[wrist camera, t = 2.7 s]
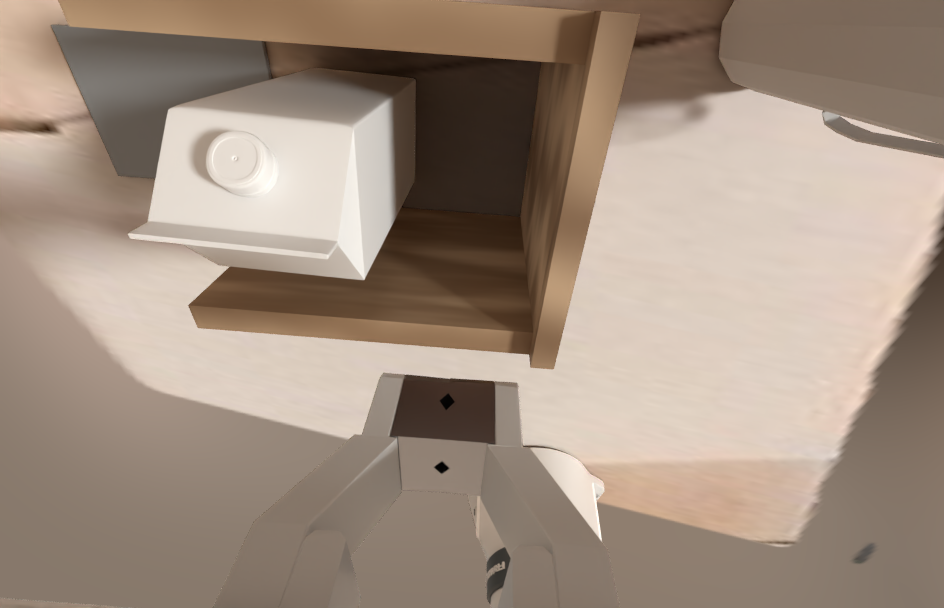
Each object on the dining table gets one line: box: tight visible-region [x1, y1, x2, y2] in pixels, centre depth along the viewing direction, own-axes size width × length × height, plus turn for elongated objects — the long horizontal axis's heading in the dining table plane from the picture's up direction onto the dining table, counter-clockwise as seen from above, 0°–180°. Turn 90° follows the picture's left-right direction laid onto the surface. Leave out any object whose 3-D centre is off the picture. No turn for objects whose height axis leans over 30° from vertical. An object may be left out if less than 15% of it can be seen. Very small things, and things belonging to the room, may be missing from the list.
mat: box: [51, 25, 272, 179], centre depth 30 cm, size 10×14×1 cm
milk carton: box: [128, 68, 416, 280], centre depth 22 cm, size 7×7×19 cm
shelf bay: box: [58, 0, 641, 369], centre depth 23 cm, size 15×19×16 cm
